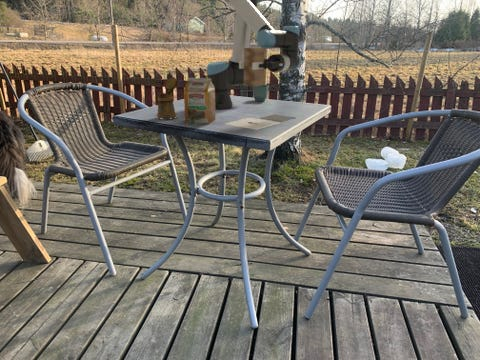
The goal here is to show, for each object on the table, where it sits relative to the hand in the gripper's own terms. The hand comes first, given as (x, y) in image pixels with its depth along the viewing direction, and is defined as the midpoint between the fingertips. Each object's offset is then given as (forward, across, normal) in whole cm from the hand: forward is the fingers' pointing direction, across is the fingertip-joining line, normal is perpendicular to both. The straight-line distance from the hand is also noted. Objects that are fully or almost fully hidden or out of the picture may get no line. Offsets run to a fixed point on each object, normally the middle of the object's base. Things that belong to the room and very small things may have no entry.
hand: (246, 65), depth 151 cm
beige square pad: (-5, 0, -25) cm, 25 cm away
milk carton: (+7, +20, -25) cm, 33 cm away
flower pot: (-59, +35, -25) cm, 73 cm away
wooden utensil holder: (+9, +39, -25) cm, 47 cm away
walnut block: (-5, 0, -8) cm, 10 cm away
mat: (-22, -2, -25) cm, 33 cm away
